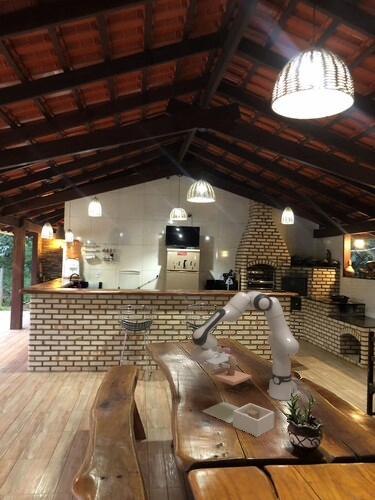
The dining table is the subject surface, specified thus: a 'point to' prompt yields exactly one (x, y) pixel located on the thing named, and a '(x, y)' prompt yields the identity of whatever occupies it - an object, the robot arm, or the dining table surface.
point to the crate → (253, 419)
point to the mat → (222, 411)
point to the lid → (231, 374)
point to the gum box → (223, 349)
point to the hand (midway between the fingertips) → (232, 365)
